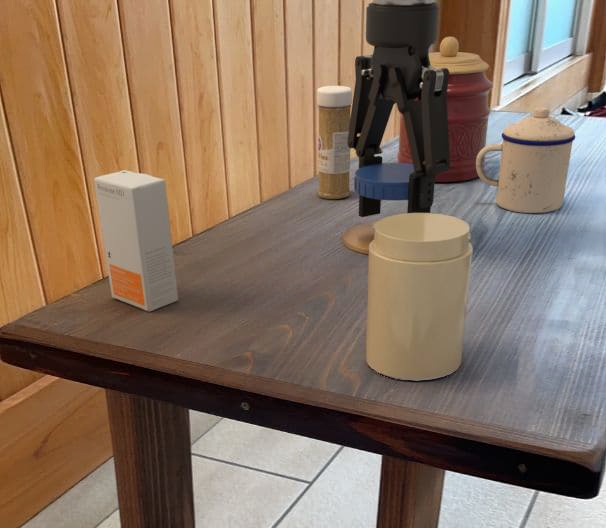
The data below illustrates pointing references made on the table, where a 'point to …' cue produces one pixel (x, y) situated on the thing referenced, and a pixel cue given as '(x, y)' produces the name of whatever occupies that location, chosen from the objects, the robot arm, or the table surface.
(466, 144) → the kitchen canister
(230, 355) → the table surface
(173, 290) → the cosmetic box
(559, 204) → the teacup with lid
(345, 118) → the brown spice bottle
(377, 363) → the jar
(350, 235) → the coaster
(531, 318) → the table surface
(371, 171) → the lid
